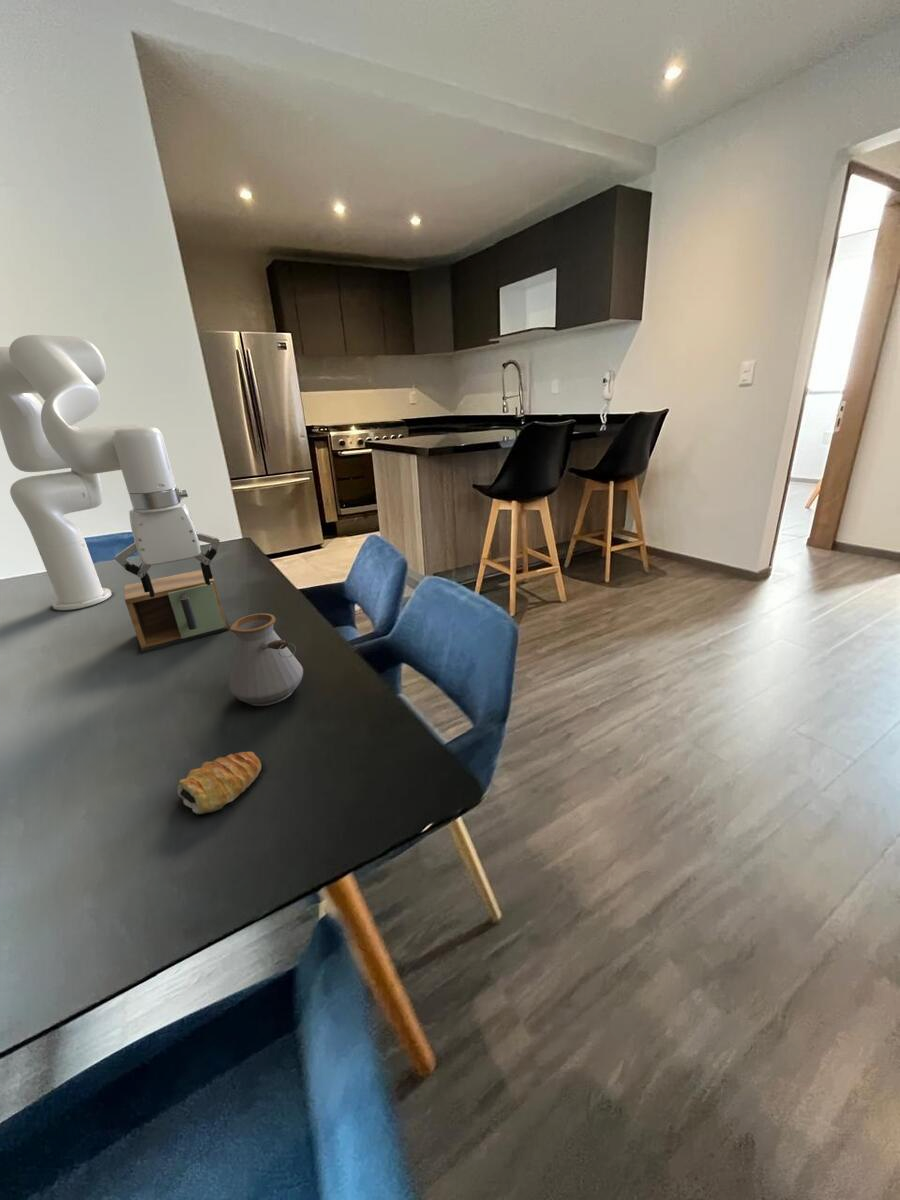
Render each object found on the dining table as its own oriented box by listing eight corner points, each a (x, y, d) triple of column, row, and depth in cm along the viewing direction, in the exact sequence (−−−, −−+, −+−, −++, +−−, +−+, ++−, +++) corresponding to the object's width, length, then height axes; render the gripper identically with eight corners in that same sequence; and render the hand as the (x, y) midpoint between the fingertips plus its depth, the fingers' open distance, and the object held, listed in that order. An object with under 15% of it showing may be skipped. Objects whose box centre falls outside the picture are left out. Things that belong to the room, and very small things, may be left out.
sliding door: (227, 634, 101) (215, 589, 97) (183, 646, 97) (169, 600, 93) (223, 626, 105) (212, 582, 101) (181, 637, 101) (167, 592, 97)
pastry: (243, 755, 66) (237, 732, 65) (274, 774, 63) (268, 750, 61) (175, 801, 59) (166, 776, 58) (205, 825, 56) (197, 799, 54)
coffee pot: (224, 691, 82) (201, 609, 76) (291, 666, 88) (274, 589, 82) (266, 757, 66) (241, 659, 60) (344, 721, 72) (328, 630, 66)
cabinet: (228, 630, 104) (215, 581, 100) (142, 652, 97) (124, 601, 93) (219, 613, 113) (207, 568, 109) (140, 632, 106) (124, 585, 101)
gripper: (205, 490, 95) (225, 573, 102) (99, 504, 87) (128, 593, 93) (211, 496, 89) (231, 584, 96) (97, 511, 81) (129, 606, 87)
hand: (180, 588), depth 94 cm, fingers open, 9 cm apart
